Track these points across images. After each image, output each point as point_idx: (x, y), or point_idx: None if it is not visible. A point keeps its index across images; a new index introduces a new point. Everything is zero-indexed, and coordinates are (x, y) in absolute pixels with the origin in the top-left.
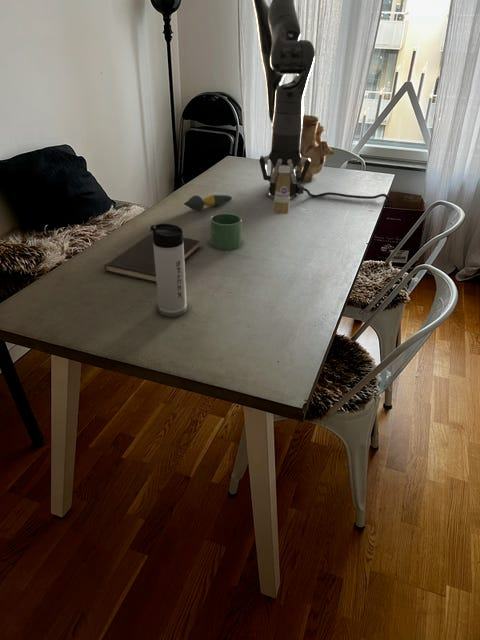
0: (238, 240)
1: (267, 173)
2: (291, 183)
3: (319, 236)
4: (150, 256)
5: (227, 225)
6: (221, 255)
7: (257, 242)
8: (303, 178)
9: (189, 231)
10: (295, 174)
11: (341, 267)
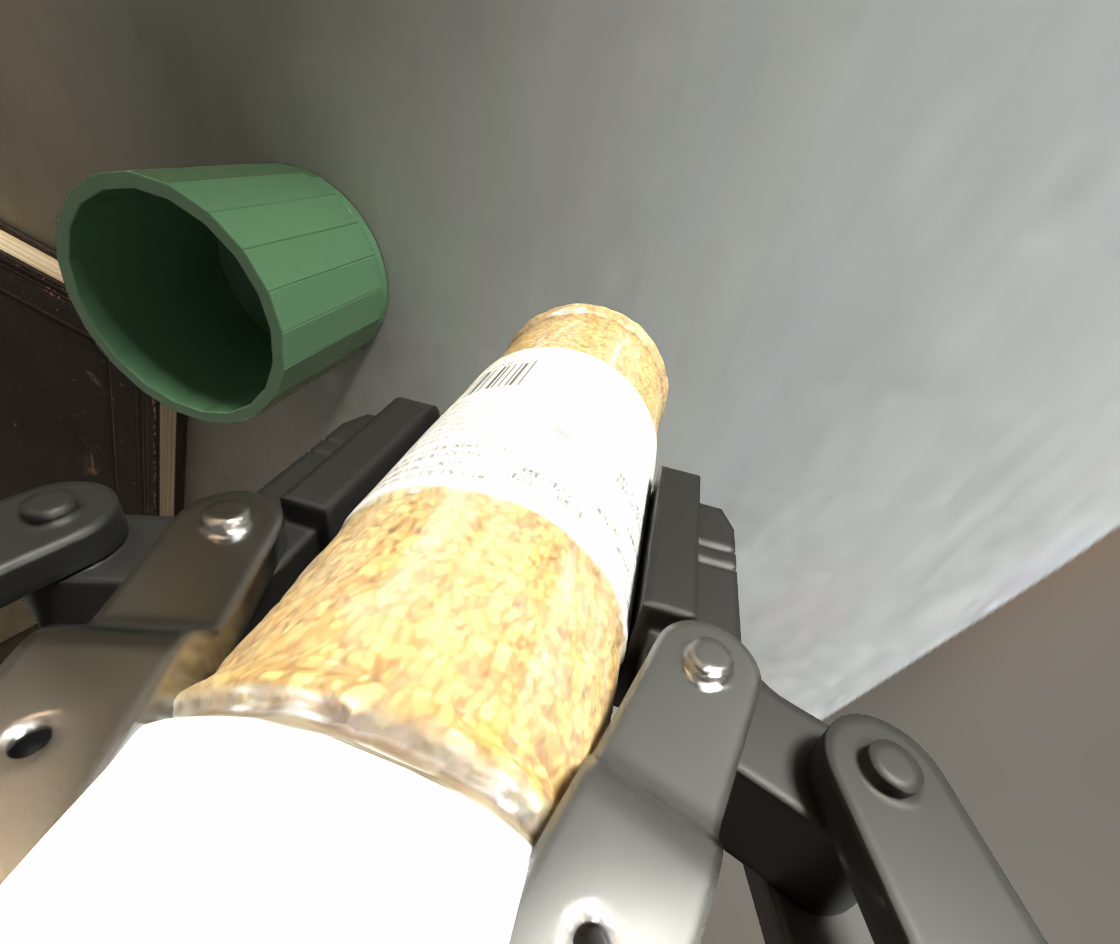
0: (354, 347)
1: (36, 584)
2: (617, 689)
3: (1045, 164)
4: (48, 473)
5: (219, 421)
6: (313, 415)
7: (488, 265)
8: (840, 918)
9: (23, 33)
10: (714, 813)
11: (888, 613)
